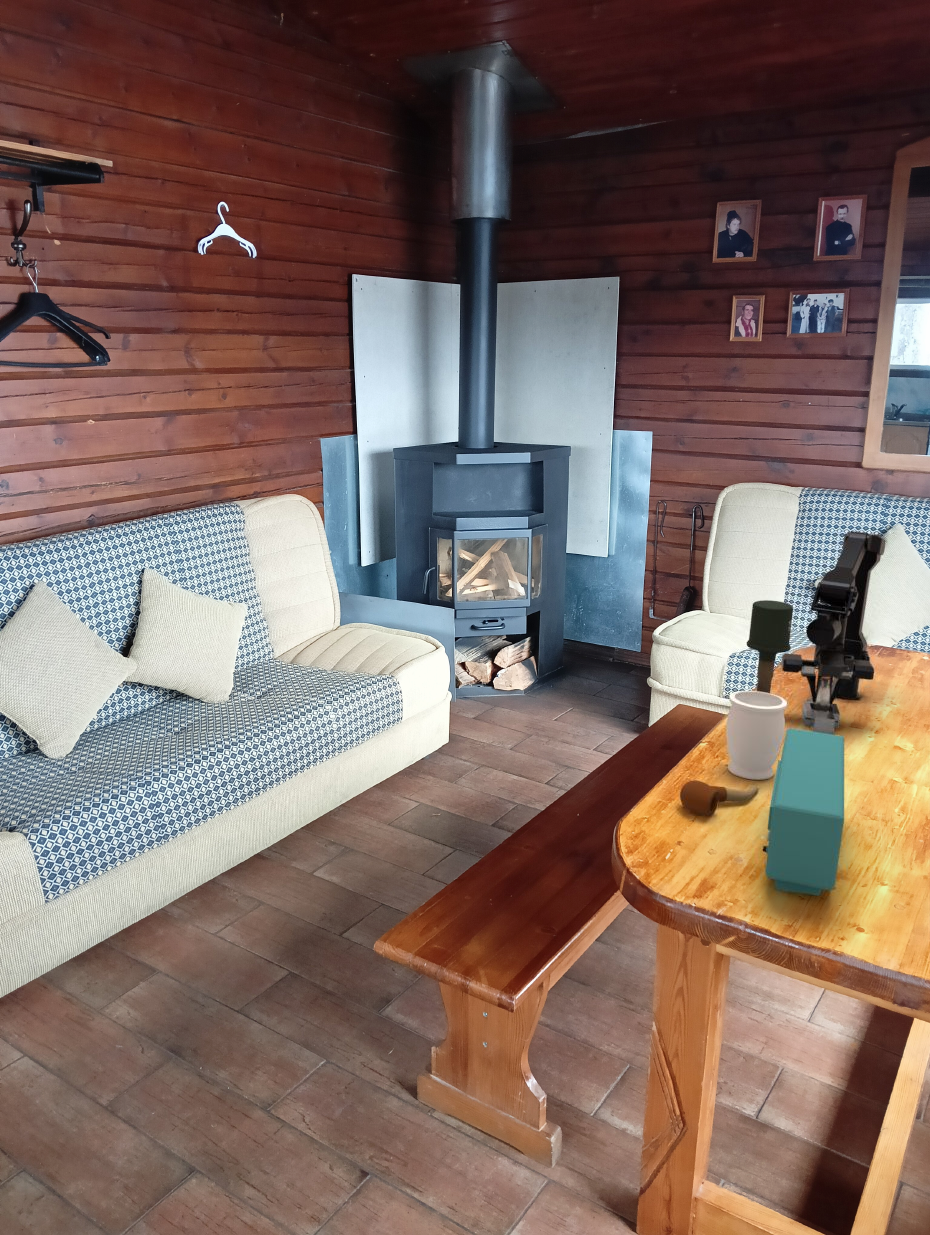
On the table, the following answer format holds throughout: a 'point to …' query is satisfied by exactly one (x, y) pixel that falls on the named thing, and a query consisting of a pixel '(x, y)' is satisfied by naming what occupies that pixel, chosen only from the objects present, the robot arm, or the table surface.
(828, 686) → the link pin
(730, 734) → the jar
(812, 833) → the radio
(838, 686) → the robot arm
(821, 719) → the strap
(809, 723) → the lower strap
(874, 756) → the table surface
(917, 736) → the table surface
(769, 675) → the potato masher grenade
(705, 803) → the smoking pipe
